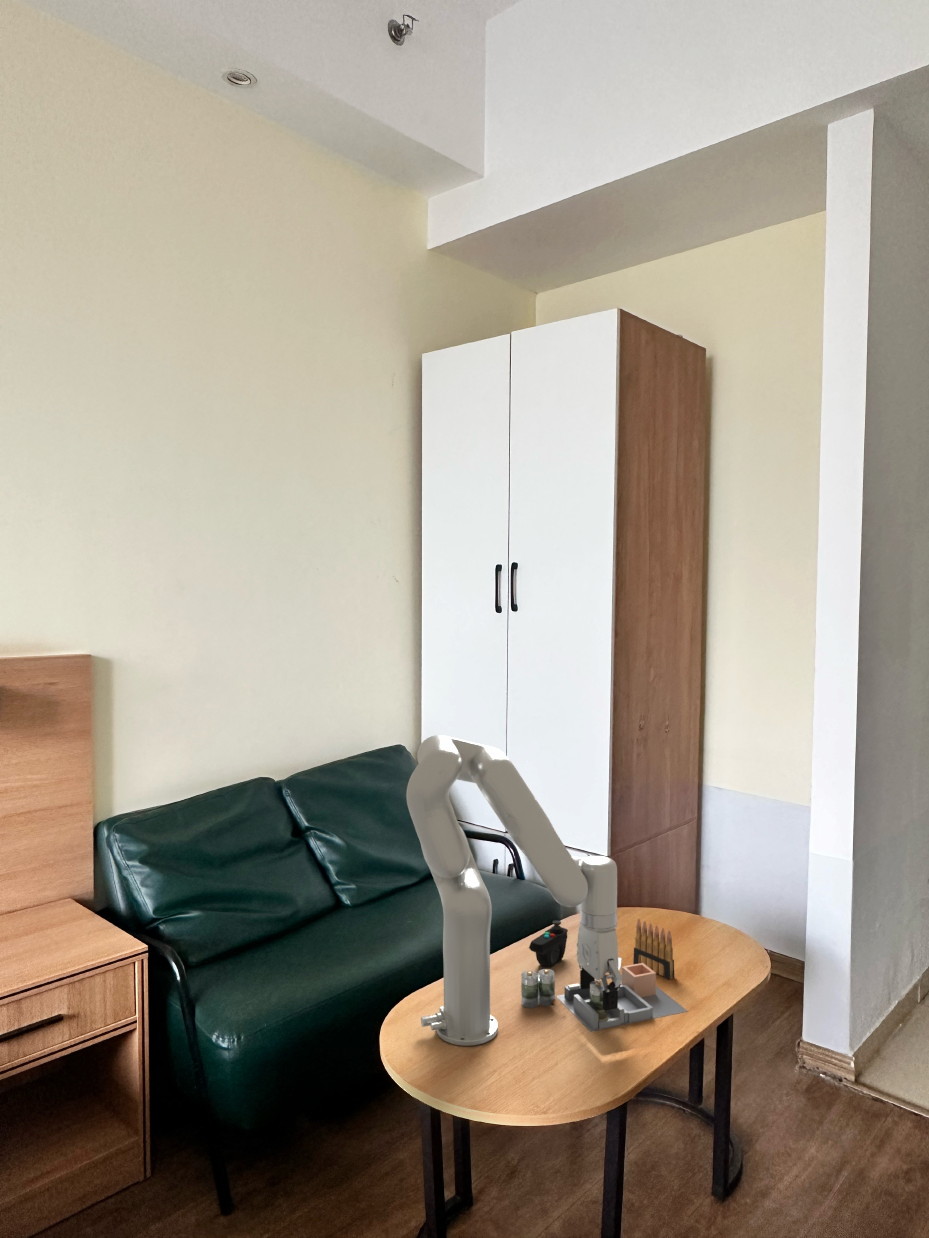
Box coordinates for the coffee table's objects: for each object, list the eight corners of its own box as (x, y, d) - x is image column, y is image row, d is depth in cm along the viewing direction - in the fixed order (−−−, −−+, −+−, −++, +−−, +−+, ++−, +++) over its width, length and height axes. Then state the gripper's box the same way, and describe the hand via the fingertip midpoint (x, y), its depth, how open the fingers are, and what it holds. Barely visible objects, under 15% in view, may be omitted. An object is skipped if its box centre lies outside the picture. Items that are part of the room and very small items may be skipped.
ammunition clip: (632, 968, 209) (633, 918, 209) (637, 965, 210) (638, 916, 210) (669, 984, 201) (670, 932, 200) (674, 981, 202) (675, 930, 202)
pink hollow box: (634, 998, 192) (634, 976, 192) (621, 987, 197) (621, 966, 197) (655, 994, 194) (655, 972, 194) (642, 983, 199) (642, 962, 199)
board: (590, 1036, 179) (590, 1016, 179) (555, 1000, 194) (555, 982, 194) (688, 1015, 187) (688, 997, 186) (647, 982, 202) (647, 965, 202)
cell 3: (595, 1020, 183) (595, 987, 182) (586, 1012, 186) (586, 979, 186) (610, 1017, 184) (610, 984, 183) (602, 1009, 187) (602, 976, 187)
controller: (570, 960, 213) (570, 920, 213) (542, 979, 204) (542, 937, 203) (555, 956, 216) (555, 915, 215) (526, 974, 206) (526, 932, 206)
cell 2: (542, 1007, 191) (542, 975, 190) (535, 999, 194) (535, 968, 194) (557, 1004, 192) (557, 972, 192) (550, 996, 195) (550, 965, 195)
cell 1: (525, 1009, 190) (525, 977, 190) (518, 1001, 193) (518, 969, 193) (541, 1006, 191) (540, 974, 191) (534, 998, 195) (533, 967, 194)
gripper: (563, 905, 191) (563, 982, 192) (602, 936, 174) (602, 1021, 175) (594, 900, 193) (594, 977, 194) (636, 930, 177) (635, 1014, 178)
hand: (598, 997), depth 185 cm, fingers open, 9 cm apart
